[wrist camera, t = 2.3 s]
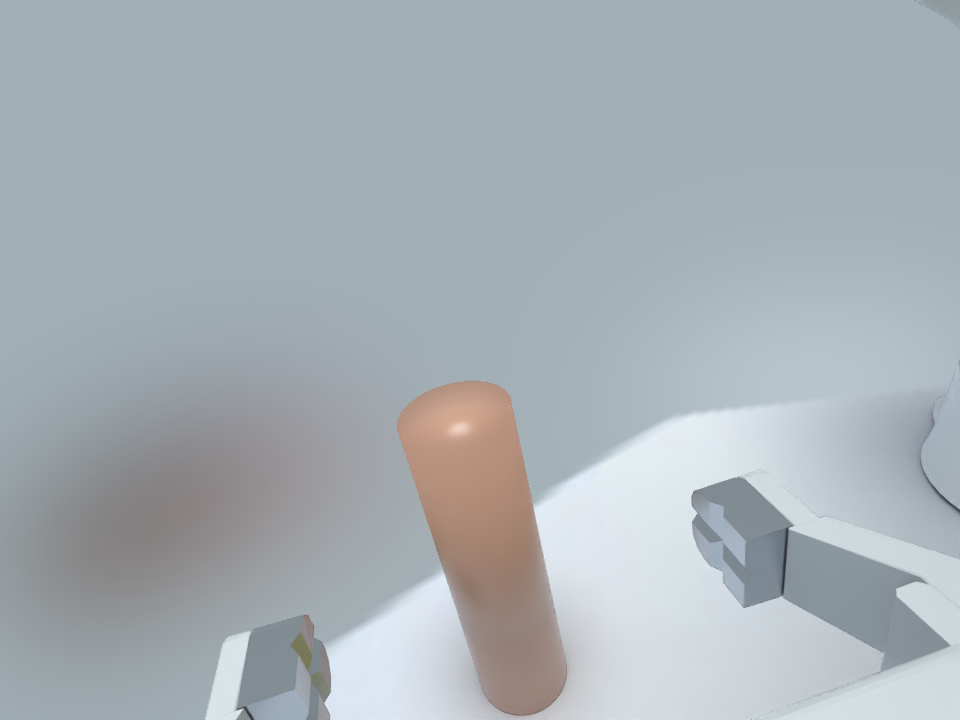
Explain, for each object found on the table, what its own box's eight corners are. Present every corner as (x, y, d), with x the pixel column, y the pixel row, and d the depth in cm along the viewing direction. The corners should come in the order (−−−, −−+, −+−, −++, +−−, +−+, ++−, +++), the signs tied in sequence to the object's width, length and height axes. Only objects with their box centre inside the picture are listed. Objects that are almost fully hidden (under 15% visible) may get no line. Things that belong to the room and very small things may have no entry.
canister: (556, 623, 34) (503, 371, 26) (575, 705, 30) (518, 432, 22) (477, 640, 34) (399, 394, 26) (484, 723, 30) (393, 459, 22)
